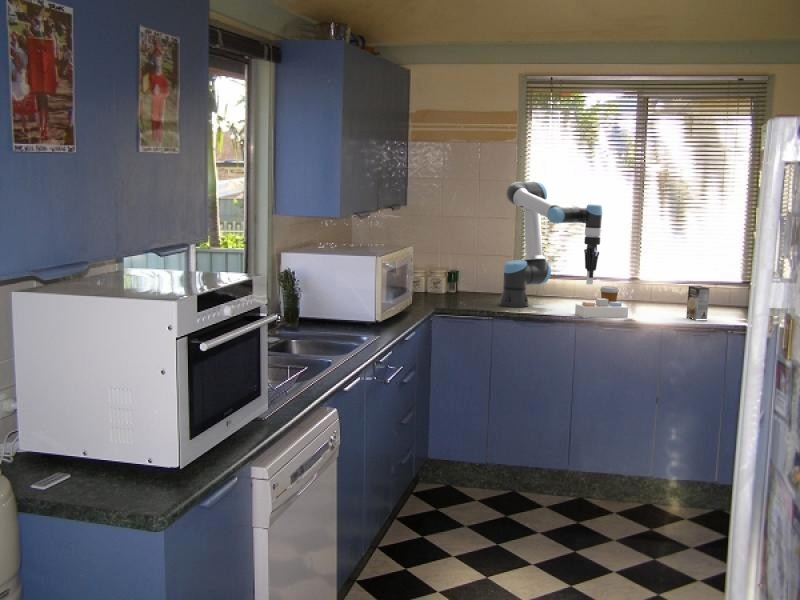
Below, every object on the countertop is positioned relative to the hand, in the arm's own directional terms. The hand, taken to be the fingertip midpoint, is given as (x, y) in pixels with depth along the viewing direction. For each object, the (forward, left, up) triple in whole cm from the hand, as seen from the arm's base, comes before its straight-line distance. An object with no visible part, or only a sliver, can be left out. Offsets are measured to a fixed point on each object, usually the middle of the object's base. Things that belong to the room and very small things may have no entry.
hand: (589, 284), depth 449 cm
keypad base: (0, +7, -16) cm, 17 cm away
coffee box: (+12, +52, -16) cm, 56 cm away
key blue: (0, +14, -15) cm, 21 cm away
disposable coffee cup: (-16, +18, -16) cm, 29 cm away
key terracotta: (0, 0, -15) cm, 15 cm away
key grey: (0, +7, -13) cm, 15 cm away
